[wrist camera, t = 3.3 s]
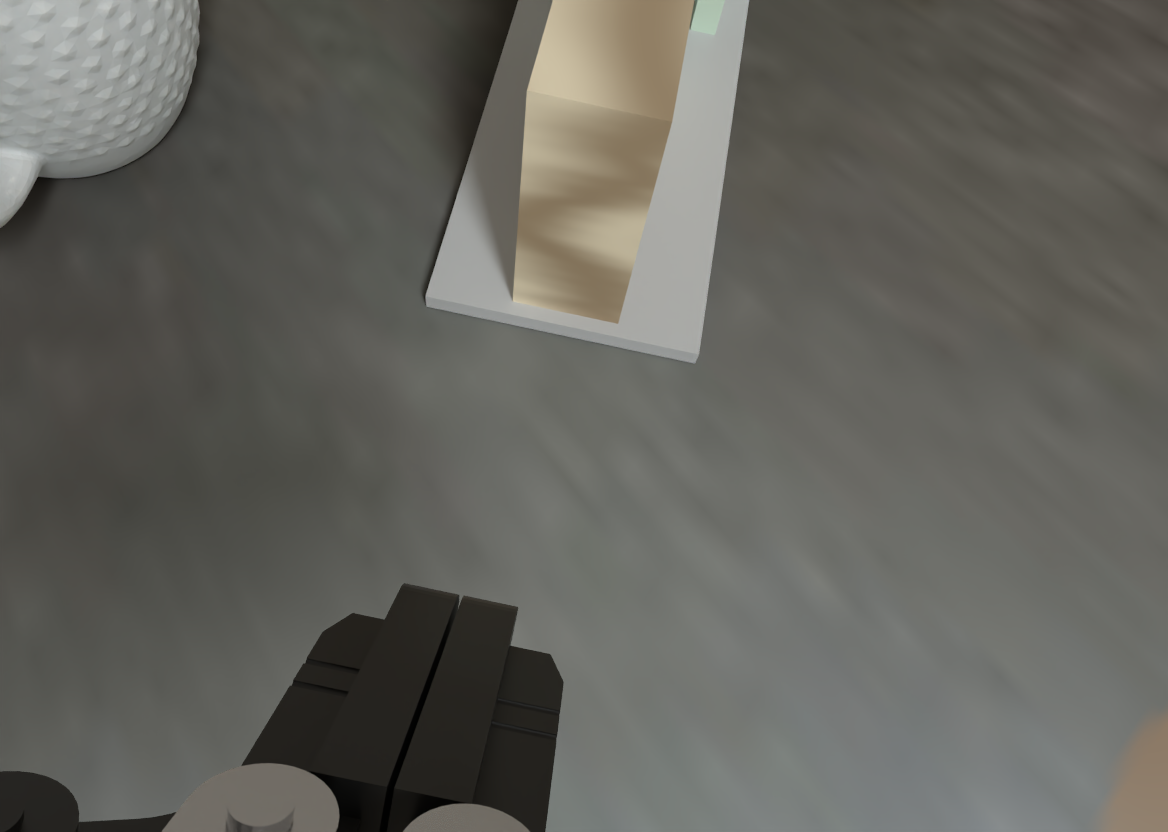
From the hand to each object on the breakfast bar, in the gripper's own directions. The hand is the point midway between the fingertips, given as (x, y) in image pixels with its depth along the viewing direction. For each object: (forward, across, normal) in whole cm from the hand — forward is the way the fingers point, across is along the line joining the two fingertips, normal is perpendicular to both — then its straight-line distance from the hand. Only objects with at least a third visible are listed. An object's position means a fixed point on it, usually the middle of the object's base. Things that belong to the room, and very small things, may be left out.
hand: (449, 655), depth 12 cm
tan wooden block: (+23, 0, -5) cm, 24 cm away
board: (+27, 0, -8) cm, 28 cm away
